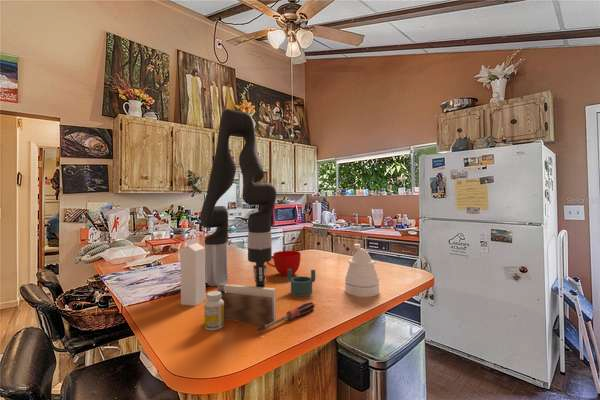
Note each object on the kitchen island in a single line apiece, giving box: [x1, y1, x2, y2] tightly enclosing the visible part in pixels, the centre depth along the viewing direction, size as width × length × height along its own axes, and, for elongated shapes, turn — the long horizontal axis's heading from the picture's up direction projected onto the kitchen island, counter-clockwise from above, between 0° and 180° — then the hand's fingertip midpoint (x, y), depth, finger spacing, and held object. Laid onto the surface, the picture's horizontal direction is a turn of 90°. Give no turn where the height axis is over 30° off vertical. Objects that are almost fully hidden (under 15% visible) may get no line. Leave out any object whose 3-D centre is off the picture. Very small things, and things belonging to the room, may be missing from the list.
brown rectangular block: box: [219, 291, 273, 326], centre depth 88 cm, size 19×4×8 cm, turn 71°
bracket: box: [287, 269, 316, 297], centre depth 113 cm, size 9×9×9 cm
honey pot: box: [344, 243, 380, 298], centre depth 113 cm, size 13×13×18 cm
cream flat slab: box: [216, 283, 277, 322], centre depth 89 cm, size 19×3×9 cm, turn 72°
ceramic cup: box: [266, 250, 302, 277], centre depth 139 cm, size 13×17×10 cm
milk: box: [179, 238, 207, 307], centre depth 103 cm, size 6×6×22 cm
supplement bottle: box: [203, 290, 225, 332], centre depth 83 cm, size 5×5×10 cm
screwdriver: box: [255, 301, 316, 332], centre depth 87 cm, size 25×3×3 cm, turn 139°
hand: (260, 299), depth 93 cm, fingers closed
